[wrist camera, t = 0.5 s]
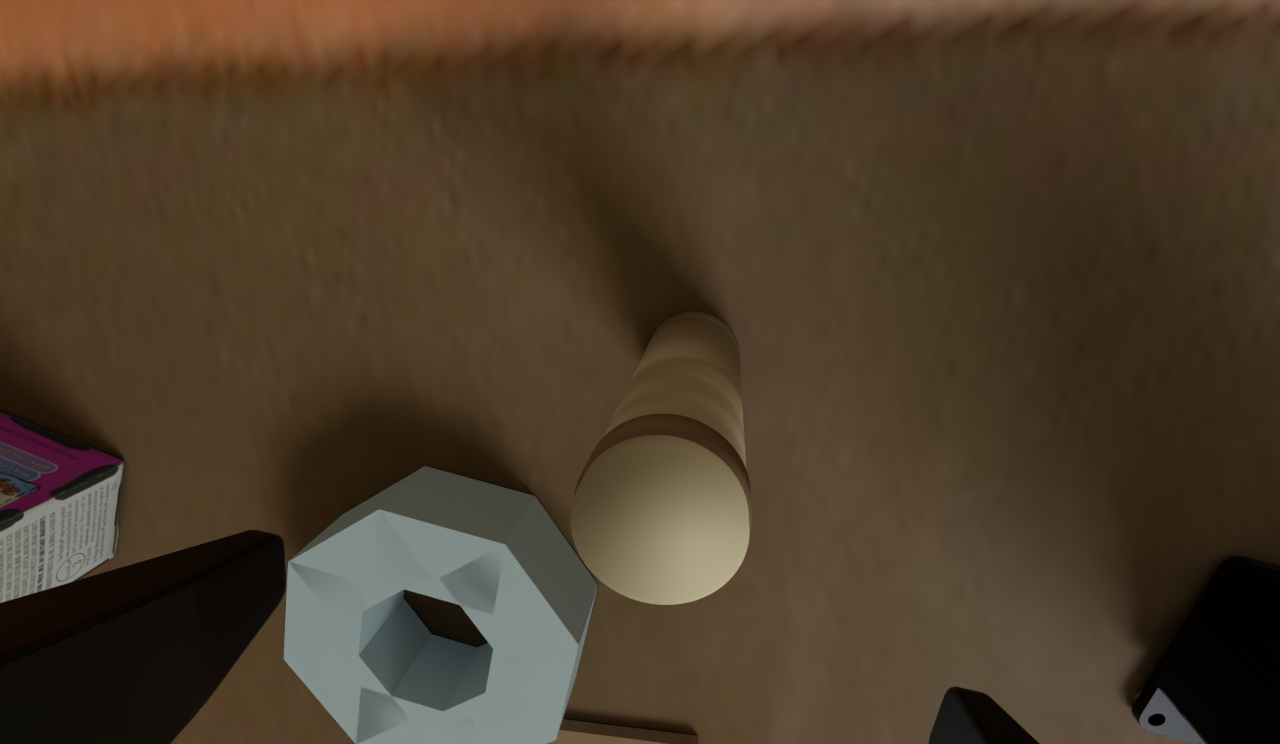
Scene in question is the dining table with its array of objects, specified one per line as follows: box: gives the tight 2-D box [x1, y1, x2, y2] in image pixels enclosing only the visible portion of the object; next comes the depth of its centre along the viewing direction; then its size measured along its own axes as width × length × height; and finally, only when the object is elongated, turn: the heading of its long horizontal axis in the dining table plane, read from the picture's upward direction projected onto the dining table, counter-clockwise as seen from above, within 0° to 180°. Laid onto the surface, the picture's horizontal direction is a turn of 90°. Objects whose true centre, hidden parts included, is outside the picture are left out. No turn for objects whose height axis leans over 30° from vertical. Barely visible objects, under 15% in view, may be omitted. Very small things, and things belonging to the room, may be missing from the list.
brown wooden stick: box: [547, 719, 698, 744], centre depth 24 cm, size 12×1×1 cm, turn 90°
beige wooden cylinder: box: [570, 311, 752, 605], centre depth 14 cm, size 3×3×10 cm
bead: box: [284, 466, 598, 744], centre depth 22 cm, size 10×10×3 cm
